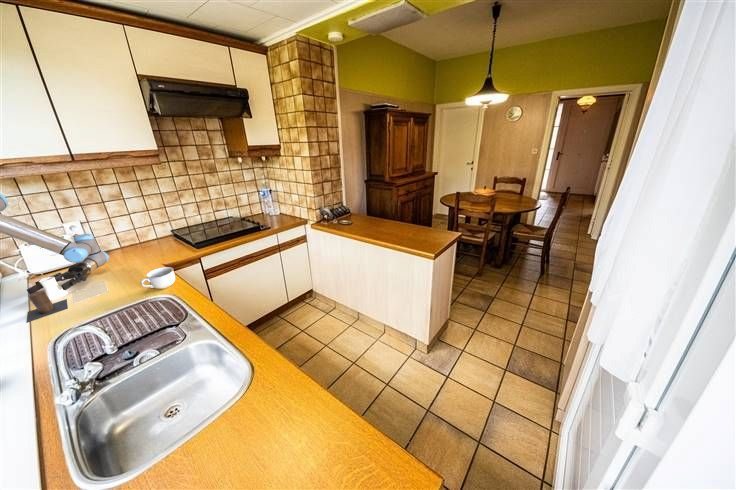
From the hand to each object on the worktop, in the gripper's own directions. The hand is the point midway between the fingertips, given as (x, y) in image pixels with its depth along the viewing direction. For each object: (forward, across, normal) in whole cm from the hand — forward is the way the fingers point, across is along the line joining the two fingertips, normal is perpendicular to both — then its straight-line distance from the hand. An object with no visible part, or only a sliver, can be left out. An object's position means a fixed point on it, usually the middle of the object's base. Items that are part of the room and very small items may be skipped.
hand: (46, 290), depth 122 cm
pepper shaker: (+11, -7, -5) cm, 14 cm away
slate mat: (+10, -6, -6) cm, 13 cm away
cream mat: (-2, -14, -6) cm, 16 cm away
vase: (-3, 0, -6) cm, 7 cm away
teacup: (+1, -47, -6) cm, 48 cm away
